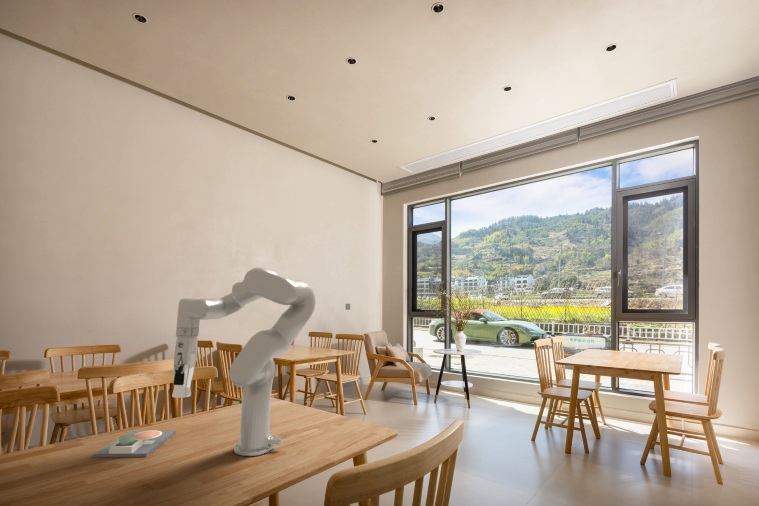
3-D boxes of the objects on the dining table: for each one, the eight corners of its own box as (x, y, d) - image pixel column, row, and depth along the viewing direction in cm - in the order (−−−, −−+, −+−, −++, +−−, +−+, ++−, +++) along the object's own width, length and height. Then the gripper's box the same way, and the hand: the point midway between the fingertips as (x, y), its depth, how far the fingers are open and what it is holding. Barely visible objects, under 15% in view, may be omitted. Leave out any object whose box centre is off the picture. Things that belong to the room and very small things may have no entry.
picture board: (175, 433, 146) (176, 424, 146) (146, 456, 124) (147, 446, 124) (130, 433, 144) (131, 425, 145) (92, 457, 122) (93, 447, 123)
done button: (137, 440, 129) (137, 434, 130) (130, 445, 125) (130, 438, 125) (123, 440, 129) (124, 434, 129) (115, 445, 125) (116, 439, 125)
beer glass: (183, 398, 137) (187, 355, 138) (166, 397, 138) (170, 353, 140) (196, 394, 143) (200, 352, 145) (179, 392, 145) (183, 351, 147)
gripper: (188, 334, 135) (183, 388, 133) (206, 330, 152) (202, 378, 150) (166, 334, 135) (160, 388, 132) (186, 330, 152) (181, 377, 150)
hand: (182, 382), depth 141 cm, fingers closed on beer glass, 6 cm apart
